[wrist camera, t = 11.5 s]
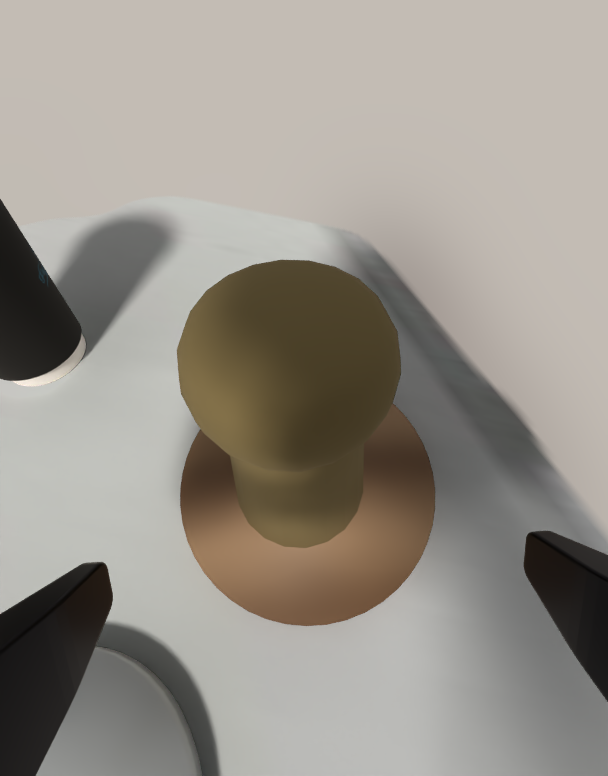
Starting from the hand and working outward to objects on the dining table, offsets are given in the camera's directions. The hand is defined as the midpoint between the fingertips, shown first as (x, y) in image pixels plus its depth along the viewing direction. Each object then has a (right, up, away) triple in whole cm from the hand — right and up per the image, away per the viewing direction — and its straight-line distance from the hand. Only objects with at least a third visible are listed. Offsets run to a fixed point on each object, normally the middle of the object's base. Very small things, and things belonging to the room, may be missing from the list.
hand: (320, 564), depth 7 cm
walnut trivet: (0, -1, +10) cm, 10 cm away
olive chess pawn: (-1, -1, +9) cm, 9 cm away
